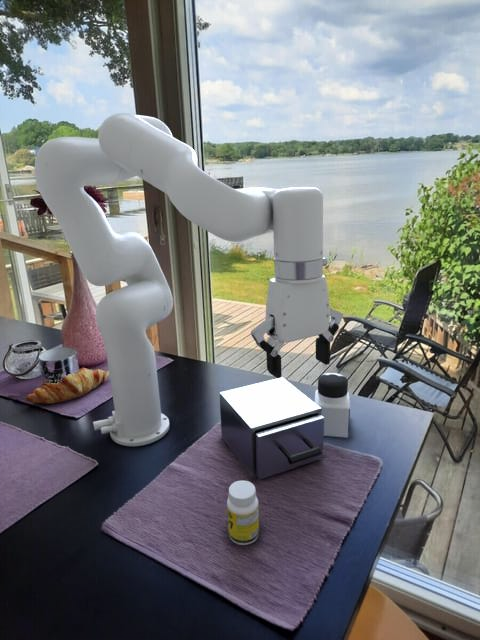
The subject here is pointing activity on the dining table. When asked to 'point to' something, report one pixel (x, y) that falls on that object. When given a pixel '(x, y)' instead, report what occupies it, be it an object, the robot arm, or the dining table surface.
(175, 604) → the dining table surface
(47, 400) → the croissant
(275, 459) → the drawer
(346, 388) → the medicine bottle
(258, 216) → the robot arm
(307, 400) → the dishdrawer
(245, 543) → the supplement bottle
